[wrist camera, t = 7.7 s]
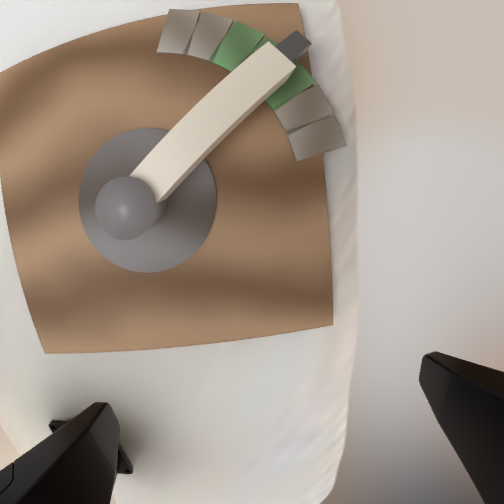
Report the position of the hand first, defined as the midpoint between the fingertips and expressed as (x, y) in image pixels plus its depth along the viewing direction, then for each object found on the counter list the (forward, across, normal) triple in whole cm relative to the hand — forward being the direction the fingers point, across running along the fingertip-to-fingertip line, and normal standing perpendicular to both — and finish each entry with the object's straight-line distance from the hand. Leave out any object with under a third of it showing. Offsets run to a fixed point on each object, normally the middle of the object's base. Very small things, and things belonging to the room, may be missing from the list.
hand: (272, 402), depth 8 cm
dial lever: (+10, +1, -8) cm, 13 cm away
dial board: (+12, +5, -6) cm, 14 cm away
